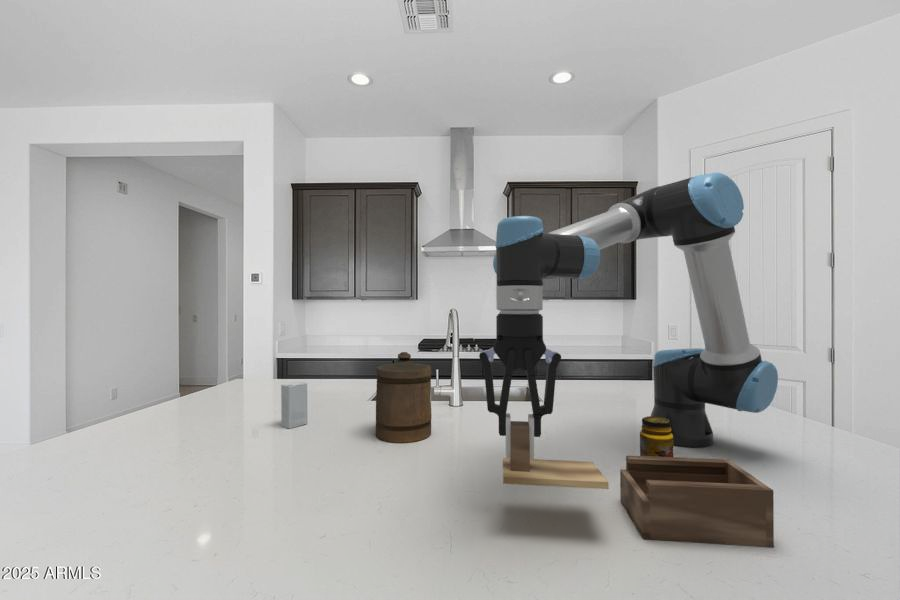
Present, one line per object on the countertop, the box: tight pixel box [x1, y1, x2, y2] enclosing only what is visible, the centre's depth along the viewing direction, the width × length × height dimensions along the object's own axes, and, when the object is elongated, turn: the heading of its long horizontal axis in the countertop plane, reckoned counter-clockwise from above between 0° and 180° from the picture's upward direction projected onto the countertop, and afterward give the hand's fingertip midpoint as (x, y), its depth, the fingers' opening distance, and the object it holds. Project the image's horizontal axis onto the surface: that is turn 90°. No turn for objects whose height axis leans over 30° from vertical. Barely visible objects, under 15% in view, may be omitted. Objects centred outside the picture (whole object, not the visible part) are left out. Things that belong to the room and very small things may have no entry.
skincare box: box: [280, 381, 308, 429], centre depth 121 cm, size 6×4×12 cm
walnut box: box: [619, 454, 775, 548], centre depth 68 cm, size 12×18×8 cm, turn 83°
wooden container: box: [375, 351, 432, 444], centre depth 113 cm, size 15×15×22 cm
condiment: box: [639, 415, 674, 457], centre depth 85 cm, size 7×8×12 cm
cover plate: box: [502, 420, 609, 490], centre depth 68 cm, size 10×15×8 cm, turn 83°
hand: (519, 455), depth 69 cm, fingers closed on cover plate, 3 cm apart
